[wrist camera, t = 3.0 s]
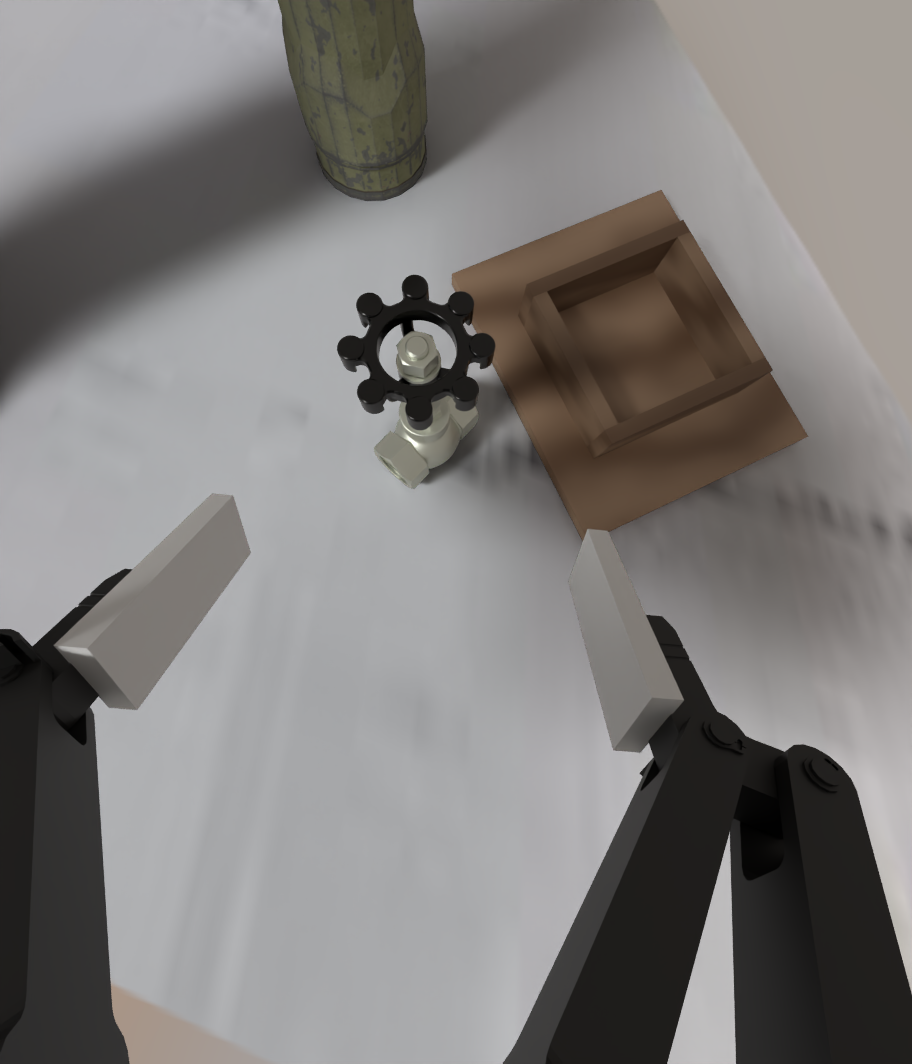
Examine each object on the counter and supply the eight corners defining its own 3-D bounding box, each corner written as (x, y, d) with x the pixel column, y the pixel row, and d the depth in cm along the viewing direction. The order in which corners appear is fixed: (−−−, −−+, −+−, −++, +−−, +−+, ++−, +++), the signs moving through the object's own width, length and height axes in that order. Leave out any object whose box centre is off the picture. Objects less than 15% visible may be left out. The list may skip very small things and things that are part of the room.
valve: (363, 448, 28) (303, 347, 16) (426, 385, 28) (413, 245, 17) (430, 509, 27) (420, 453, 15) (492, 444, 28) (528, 343, 16)
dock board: (451, 284, 30) (453, 238, 26) (654, 202, 31) (685, 146, 27) (583, 542, 27) (607, 536, 23) (795, 441, 29) (851, 418, 25)
